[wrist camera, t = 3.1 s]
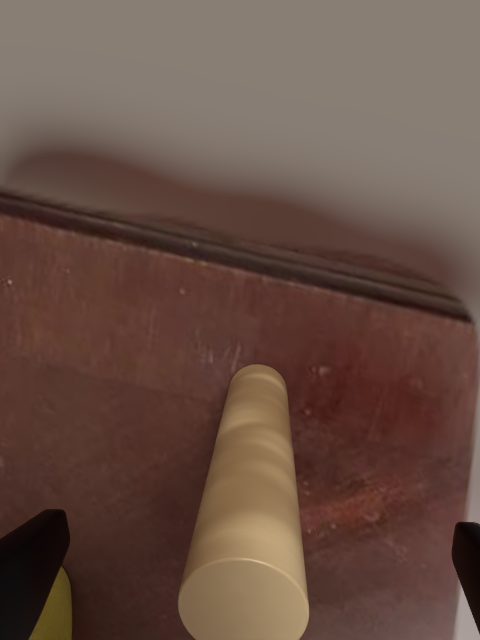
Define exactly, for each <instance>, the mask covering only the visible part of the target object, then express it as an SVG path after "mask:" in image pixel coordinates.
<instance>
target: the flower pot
mask: <svg viewBox="0 0 480 640" xmlns="http://www.w3.org/2000/svg"><path fill="white" fill-rule="evenodd" d="M71 636H72V599H71V587H70V582H69V579H68V576H67V574H66V572H65V570H64V569H63V567H62V566H61V567H60V570H59V572H58V575H57V577H56V579H55V582H54V584H53V587H52V589H51V591H50V594H49V596H48V599H47V601H46V604H45V606H44V608H43V611H42V613H41V615H40V617H39V620H38V622H37V624H36V626H35V628H34V630H33V632H32V634H31V636H30V638H29V640H71Z"/></svg>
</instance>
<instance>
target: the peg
mask: <svg viewBox="0 0 480 640" xmlns="http://www.w3.org/2000/svg"><path fill="white" fill-rule="evenodd" d="M178 610H179V615H180V618H181V621H182V623H183V624H184V626H185V628H186V629H187V631H188V632H189V633H190V634H191V635H192V636H193V638H195V639H196V640H299V639H300V638H301V636H302V635H303V633H304V631H305V629H306V626H307V623H308V620H309V604H308V594H307V584H306V574H305V565H304V555H303V545H302V535H301V525H300V516H299V506H298V496H297V486H296V476H295V467H294V457H293V447H292V437H291V427H290V418H289V408H288V398H287V388H286V384H285V381H284V379H283V378H282V376H281V375H280V374H279V373H278V372H277V371H276V370H274V369H272V368H270V367H268V366H265V365H249V366H246V367H244V368H242V369H241V370H239V371H238V372H237V373H236V374H235V375H234V376H233V378H232V380H231V382H230V386H229V390H228V394H227V398H226V402H225V406H224V410H223V414H222V418H221V422H220V426H219V431H218V435H217V439H216V443H215V447H214V451H213V455H212V459H211V463H210V467H209V471H208V475H207V480H206V484H205V488H204V492H203V496H202V500H201V504H200V508H199V512H198V516H197V520H196V524H195V528H194V533H193V537H192V541H191V545H190V549H189V553H188V557H187V561H186V565H185V569H184V573H183V577H182V582H181V586H180V590H179V594H178Z"/></svg>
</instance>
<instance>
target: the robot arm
mask: <svg viewBox="0 0 480 640" xmlns="http://www.w3.org/2000/svg"><path fill="white" fill-rule="evenodd" d="M69 544H70V533H69V528H68V523H67V518H66V513H65V512H64V510H61V509H47V510H44V511H43V512H41V513H40V514H38V515H36V516H35V517H33V518H32V519H30V520H29V521H27V522H26V523H24V524H23V525H21V526H20V527H18V528H17V529H15V530H14V531H12V532H11V533H9V534H7V535H6V536H4V537H3V538H1V539H0V640H29V638H30V636H31V634H32V632H33V630H34V628H35V626H36V624H37V622H38V620H39V617H40V615H41V613H42V611H43V608H44V606H45V604H46V601H47V599H48V596H49V594H50V591H51V589H52V587H53V584H54V582H55V579H56V577H57V575H58V572H59V570H60V567H61V565H62V562H63V560H64V558H65V555H66V553H67V550H68V548H69ZM452 560H453V564H454V566H455V569H456V572H457V575H458V577H459V580H460V583H461V585H462V588H463V591H464V593H465V596H466V599H467V601H468V604H469V607H470V609H471V612H472V615H473V617H474V620H475V623H476V625H477V628H478V631H479V634H480V524H478V523H474V522H458V523H457V524H456V525H455V530H454V537H453V545H452Z"/></svg>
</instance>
